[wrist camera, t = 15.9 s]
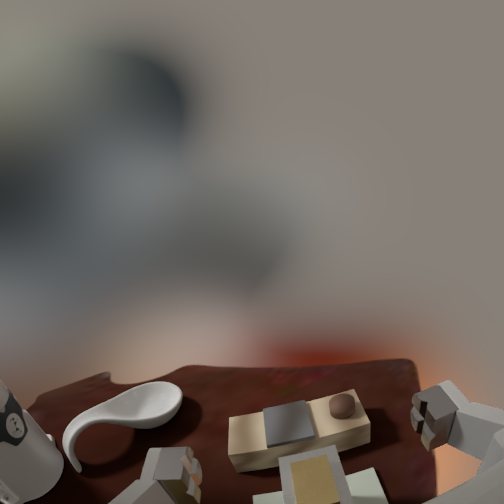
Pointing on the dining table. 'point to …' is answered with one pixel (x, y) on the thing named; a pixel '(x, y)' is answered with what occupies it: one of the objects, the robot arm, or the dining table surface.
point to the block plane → (297, 430)
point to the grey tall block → (314, 478)
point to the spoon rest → (127, 412)
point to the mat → (360, 485)
